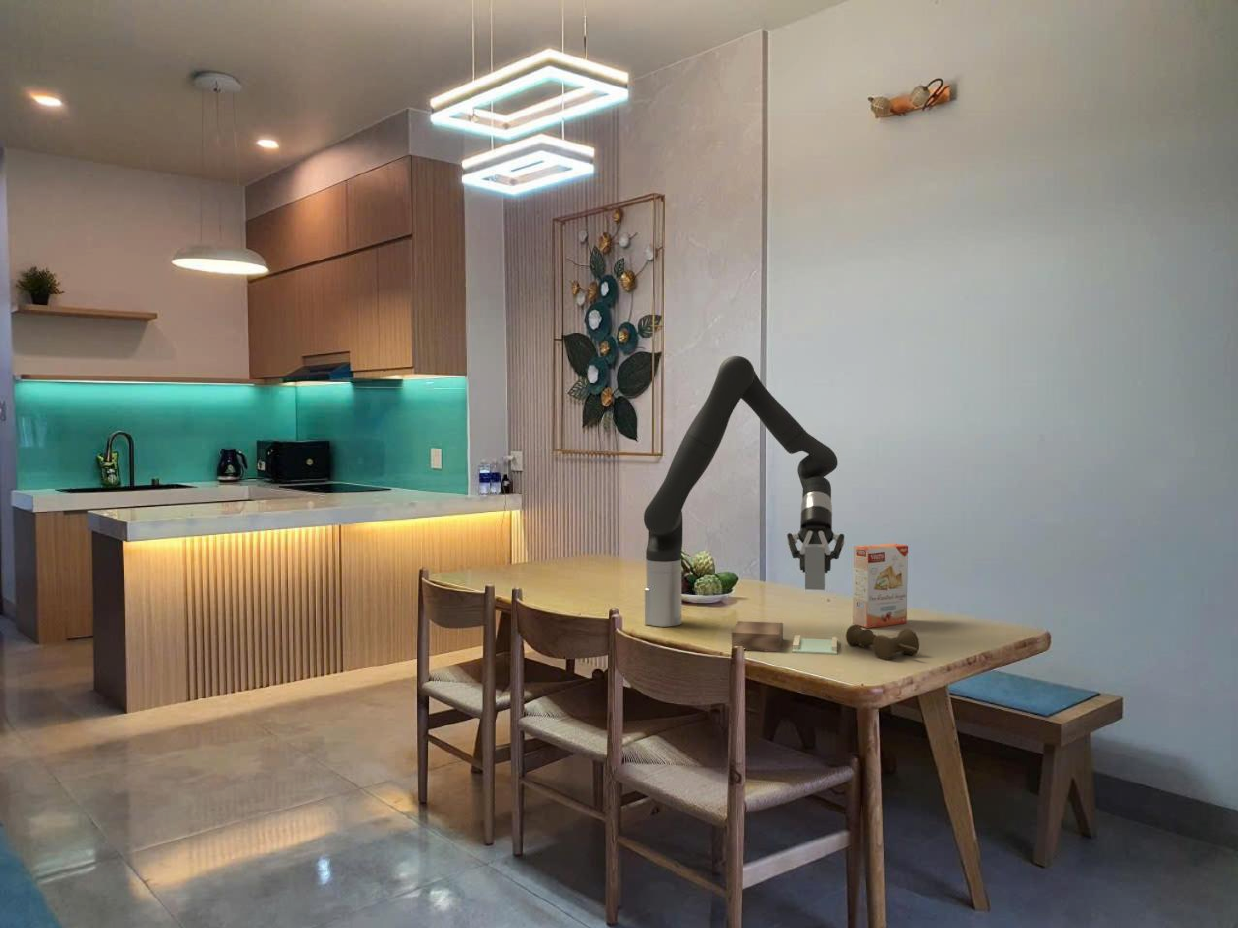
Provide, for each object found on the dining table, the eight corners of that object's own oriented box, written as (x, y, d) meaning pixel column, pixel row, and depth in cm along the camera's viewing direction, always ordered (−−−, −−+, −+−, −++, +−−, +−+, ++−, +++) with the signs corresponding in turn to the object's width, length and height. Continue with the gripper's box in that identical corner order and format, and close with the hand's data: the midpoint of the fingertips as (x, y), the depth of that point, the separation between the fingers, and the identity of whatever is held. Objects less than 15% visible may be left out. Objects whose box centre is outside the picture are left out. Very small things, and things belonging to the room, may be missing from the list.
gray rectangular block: (805, 589, 218) (804, 546, 218) (806, 584, 224) (805, 543, 224) (824, 589, 217) (824, 547, 217) (825, 585, 223) (824, 543, 223)
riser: (732, 649, 219) (731, 632, 219) (738, 637, 232) (738, 621, 232) (779, 651, 217) (779, 634, 217) (782, 639, 229) (782, 622, 229)
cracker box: (868, 629, 239) (868, 548, 238) (852, 624, 245) (852, 545, 244) (908, 623, 246) (909, 544, 245) (892, 619, 251) (892, 542, 250)
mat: (792, 652, 216) (792, 646, 216) (795, 639, 229) (795, 633, 229) (836, 654, 214) (836, 648, 214) (837, 641, 226) (837, 635, 226)
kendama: (867, 644, 226) (932, 659, 209) (837, 650, 221) (902, 666, 204) (866, 619, 226) (931, 633, 208) (836, 625, 221) (901, 639, 204)
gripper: (786, 504, 229) (783, 560, 218) (845, 504, 225) (846, 561, 214) (787, 523, 234) (784, 579, 223) (846, 524, 231) (846, 581, 220)
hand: (815, 570), depth 219 cm, fingers closed on gray rectangular block, 4 cm apart
